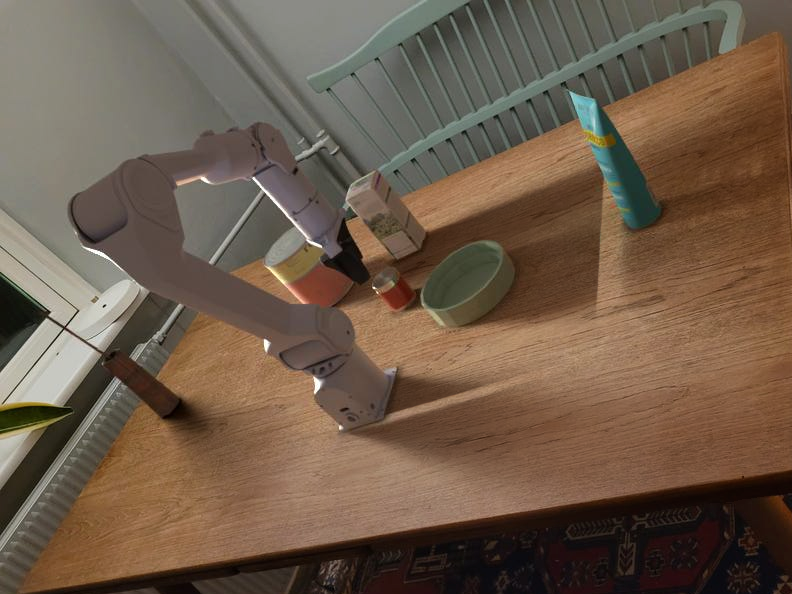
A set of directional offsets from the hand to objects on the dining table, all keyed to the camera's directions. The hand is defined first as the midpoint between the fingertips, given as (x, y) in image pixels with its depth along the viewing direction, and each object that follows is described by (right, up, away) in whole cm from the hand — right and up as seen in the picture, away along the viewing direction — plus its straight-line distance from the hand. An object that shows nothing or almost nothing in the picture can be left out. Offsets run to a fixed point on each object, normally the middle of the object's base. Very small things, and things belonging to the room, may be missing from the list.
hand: (361, 270), depth 107 cm
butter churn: (-41, -22, +30) cm, 55 cm away
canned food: (-10, 0, +24) cm, 26 cm away
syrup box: (+6, +7, +17) cm, 20 cm away
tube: (+40, +5, -14) cm, 42 cm away
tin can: (+6, -4, +6) cm, 9 cm away
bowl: (+17, -4, -4) cm, 18 cm away
